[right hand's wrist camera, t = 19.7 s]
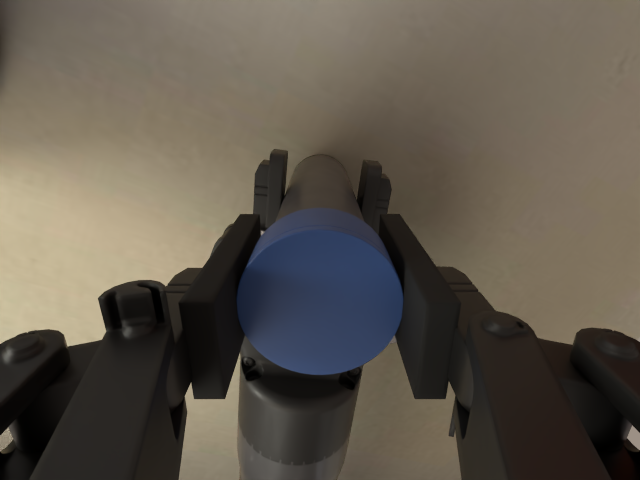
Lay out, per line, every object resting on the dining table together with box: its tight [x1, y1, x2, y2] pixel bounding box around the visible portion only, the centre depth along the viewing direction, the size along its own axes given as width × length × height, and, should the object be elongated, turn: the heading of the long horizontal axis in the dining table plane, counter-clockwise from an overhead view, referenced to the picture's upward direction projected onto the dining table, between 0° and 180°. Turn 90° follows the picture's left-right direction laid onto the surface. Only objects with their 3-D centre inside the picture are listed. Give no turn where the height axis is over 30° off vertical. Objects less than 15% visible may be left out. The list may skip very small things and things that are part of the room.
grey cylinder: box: [275, 155, 364, 222], centre depth 18 cm, size 4×4×16 cm
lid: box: [236, 208, 404, 375], centre depth 11 cm, size 5×5×2 cm
